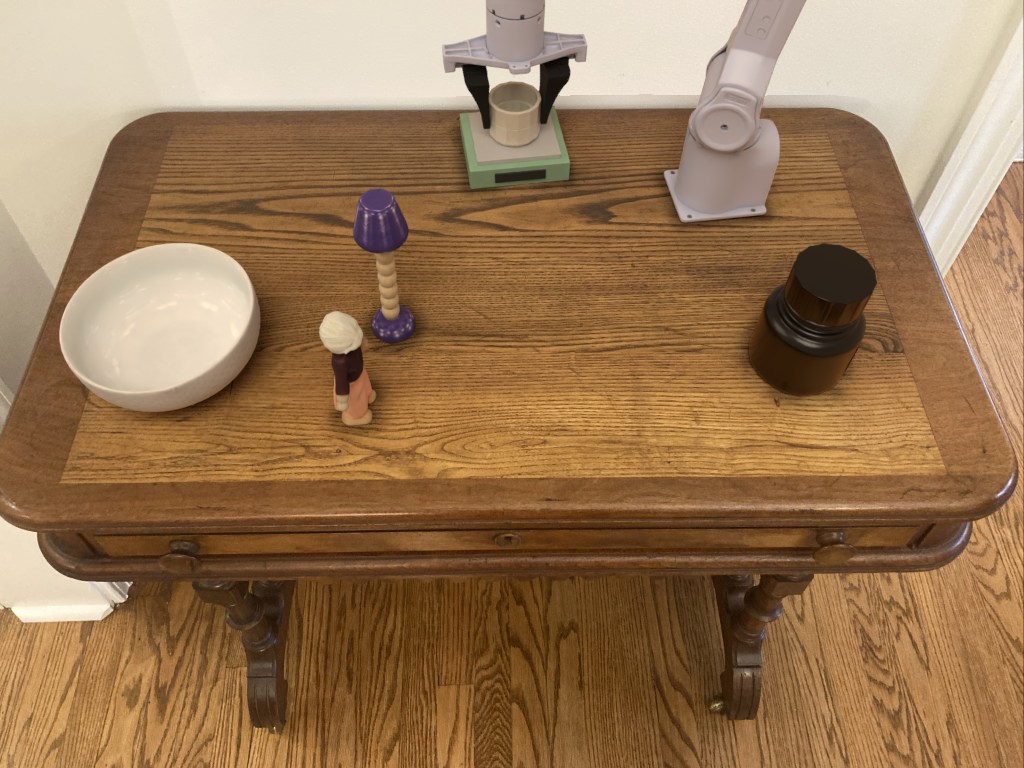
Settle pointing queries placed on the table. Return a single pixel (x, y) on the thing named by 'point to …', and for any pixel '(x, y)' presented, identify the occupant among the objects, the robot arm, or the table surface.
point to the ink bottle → (813, 320)
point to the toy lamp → (384, 259)
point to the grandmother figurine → (348, 367)
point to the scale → (513, 155)
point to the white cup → (514, 113)
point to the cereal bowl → (161, 327)
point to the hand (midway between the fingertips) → (513, 120)
